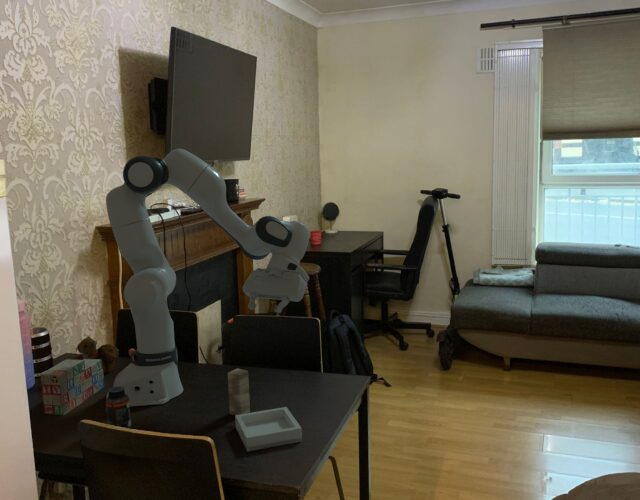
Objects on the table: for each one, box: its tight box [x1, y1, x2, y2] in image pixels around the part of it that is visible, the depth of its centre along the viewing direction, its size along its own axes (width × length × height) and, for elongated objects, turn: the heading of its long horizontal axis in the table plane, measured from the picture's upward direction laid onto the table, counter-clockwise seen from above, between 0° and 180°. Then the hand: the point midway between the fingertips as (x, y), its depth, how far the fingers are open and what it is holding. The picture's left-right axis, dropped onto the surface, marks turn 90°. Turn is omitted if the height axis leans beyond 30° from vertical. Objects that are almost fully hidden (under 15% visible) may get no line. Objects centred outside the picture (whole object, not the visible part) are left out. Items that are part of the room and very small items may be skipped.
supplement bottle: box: [105, 386, 132, 429], centre depth 163 cm, size 6×6×11 cm
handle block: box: [227, 368, 251, 416], centre depth 171 cm, size 4×4×12 cm
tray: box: [234, 406, 303, 452], centre depth 158 cm, size 14×14×4 cm
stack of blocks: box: [40, 358, 105, 416], centre depth 184 cm, size 21×6×12 cm, turn 168°
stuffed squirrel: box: [72, 336, 120, 375], centre depth 205 cm, size 10×14×13 cm
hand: (263, 310), depth 179 cm, fingers open, 8 cm apart
